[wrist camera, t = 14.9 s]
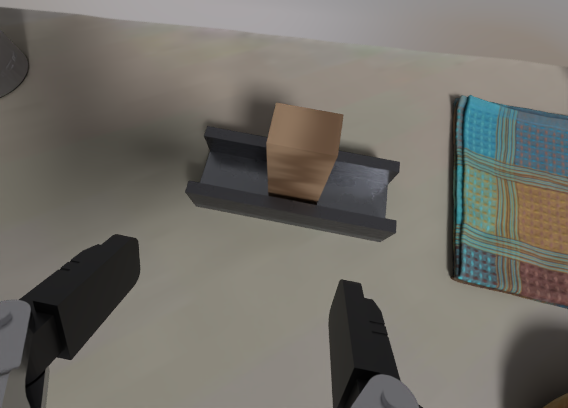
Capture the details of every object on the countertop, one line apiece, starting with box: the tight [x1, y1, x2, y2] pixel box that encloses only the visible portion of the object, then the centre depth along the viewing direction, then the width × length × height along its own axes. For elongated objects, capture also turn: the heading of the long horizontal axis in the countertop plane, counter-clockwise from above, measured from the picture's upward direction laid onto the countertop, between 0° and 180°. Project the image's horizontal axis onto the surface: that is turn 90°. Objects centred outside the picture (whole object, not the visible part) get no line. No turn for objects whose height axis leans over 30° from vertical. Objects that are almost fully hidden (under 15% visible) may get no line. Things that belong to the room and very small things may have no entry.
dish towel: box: [451, 95, 568, 309], centre depth 32 cm, size 17×23×2 cm
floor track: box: [185, 126, 400, 242], centre depth 29 cm, size 20×8×4 cm, turn 79°
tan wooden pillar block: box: [266, 103, 343, 205], centre depth 25 cm, size 5×4×11 cm
